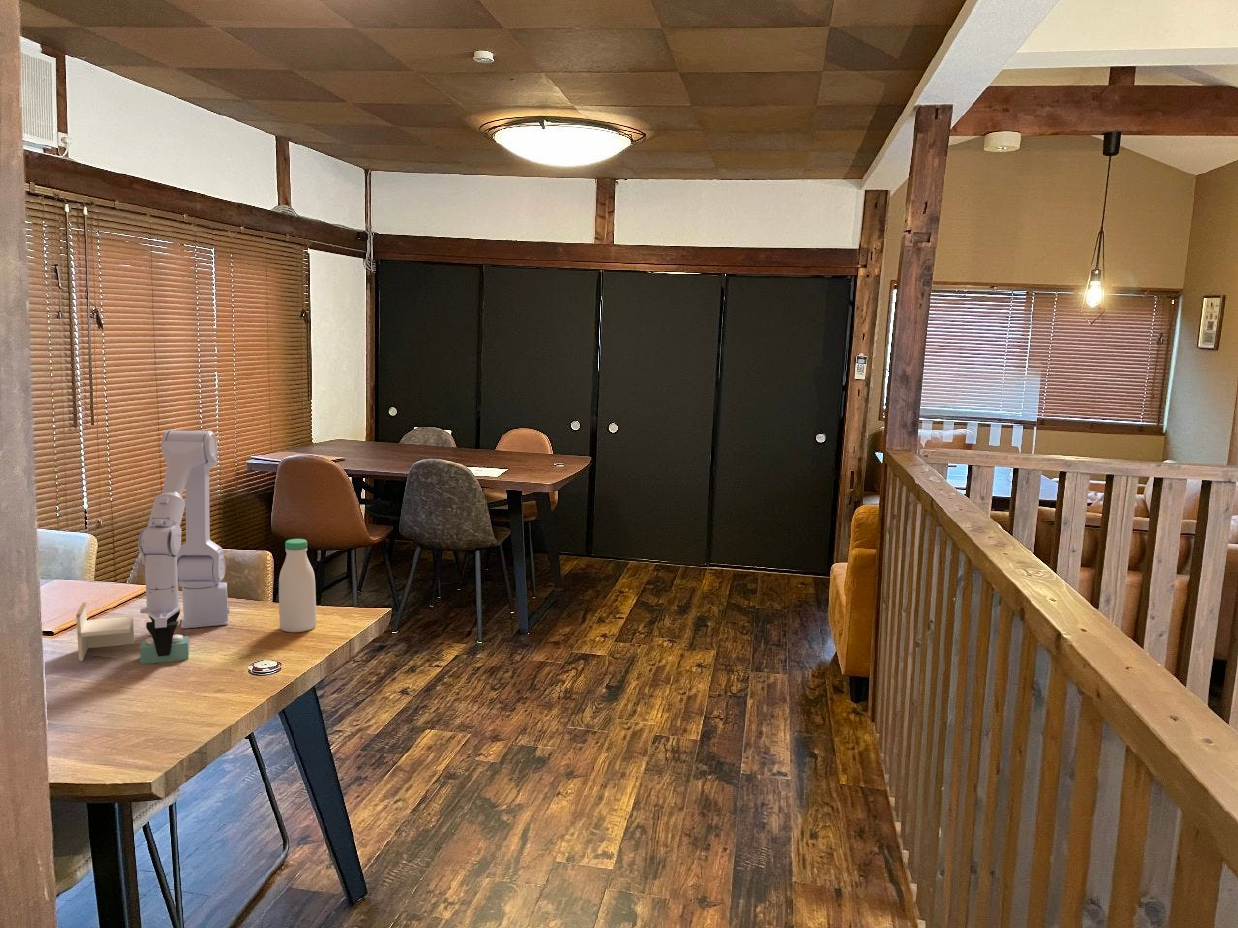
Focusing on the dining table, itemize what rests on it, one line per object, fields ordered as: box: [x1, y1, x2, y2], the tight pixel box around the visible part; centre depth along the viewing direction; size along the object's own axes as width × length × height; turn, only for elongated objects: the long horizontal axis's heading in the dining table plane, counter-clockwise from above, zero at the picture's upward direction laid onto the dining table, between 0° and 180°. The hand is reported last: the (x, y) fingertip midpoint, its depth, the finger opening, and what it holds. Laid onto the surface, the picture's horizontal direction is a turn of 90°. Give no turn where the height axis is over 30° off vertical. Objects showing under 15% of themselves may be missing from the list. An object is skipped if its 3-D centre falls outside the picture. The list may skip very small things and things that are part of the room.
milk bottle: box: [278, 538, 317, 633], centre depth 200 cm, size 8×8×20 cm
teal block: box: [139, 634, 190, 665], centre depth 182 cm, size 8×4×4 cm, turn 113°
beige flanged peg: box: [75, 602, 135, 662], centre depth 183 cm, size 9×8×10 cm
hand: (165, 650), depth 182 cm, fingers closed on teal block, 4 cm apart
